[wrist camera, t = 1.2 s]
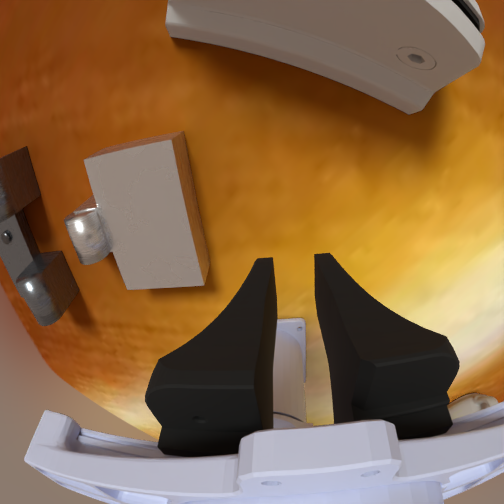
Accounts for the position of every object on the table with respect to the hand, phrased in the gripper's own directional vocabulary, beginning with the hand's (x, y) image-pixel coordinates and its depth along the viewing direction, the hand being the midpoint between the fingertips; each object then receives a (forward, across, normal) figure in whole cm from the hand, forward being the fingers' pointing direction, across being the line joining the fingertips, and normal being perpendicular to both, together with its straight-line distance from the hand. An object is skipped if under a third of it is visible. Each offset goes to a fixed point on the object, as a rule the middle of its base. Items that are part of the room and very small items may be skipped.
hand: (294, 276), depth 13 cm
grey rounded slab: (+10, -3, -12) cm, 16 cm away
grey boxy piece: (+9, +11, 0) cm, 14 cm away
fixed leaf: (+9, +22, 0) cm, 24 cm away
